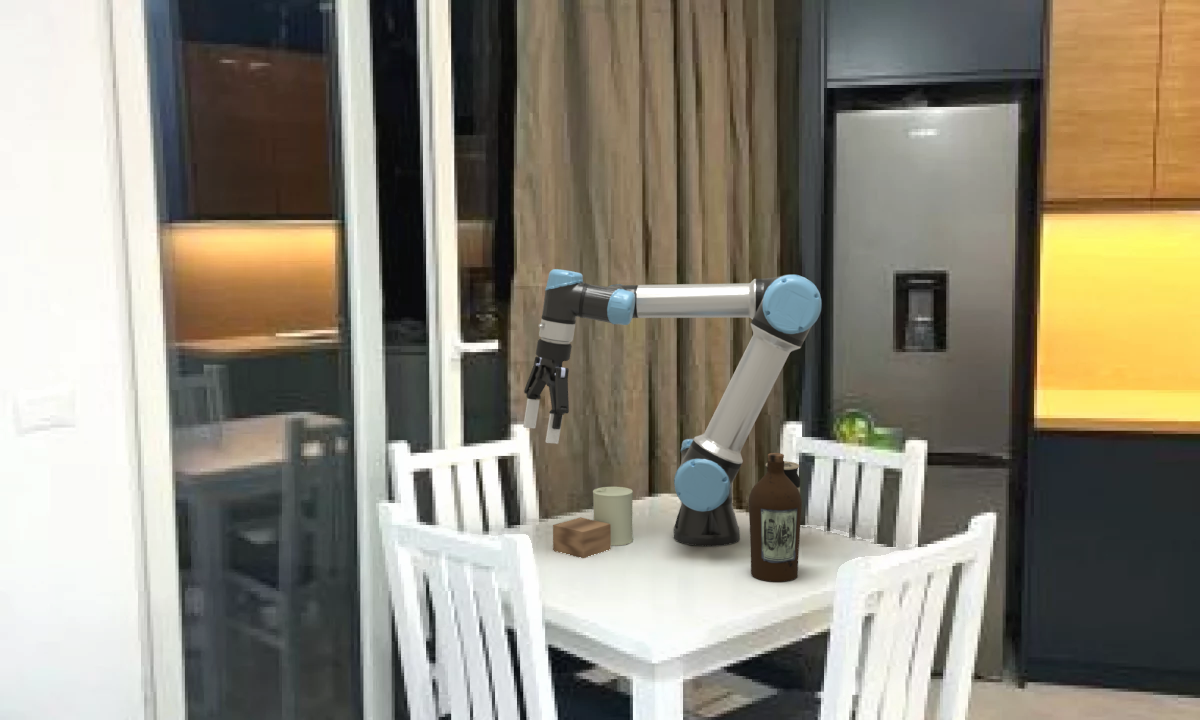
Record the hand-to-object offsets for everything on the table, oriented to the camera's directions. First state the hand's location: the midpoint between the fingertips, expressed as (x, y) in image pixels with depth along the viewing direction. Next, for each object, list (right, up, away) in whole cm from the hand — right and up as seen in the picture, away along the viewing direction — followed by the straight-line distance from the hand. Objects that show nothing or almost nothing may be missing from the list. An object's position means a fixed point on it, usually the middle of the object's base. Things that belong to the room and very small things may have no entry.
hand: (540, 435), depth 236 cm
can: (+16, -25, +8) cm, 31 cm away
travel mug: (+54, -25, +6) cm, 60 cm away
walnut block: (+9, -26, +1) cm, 27 cm away
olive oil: (+49, -27, -18) cm, 59 cm away
